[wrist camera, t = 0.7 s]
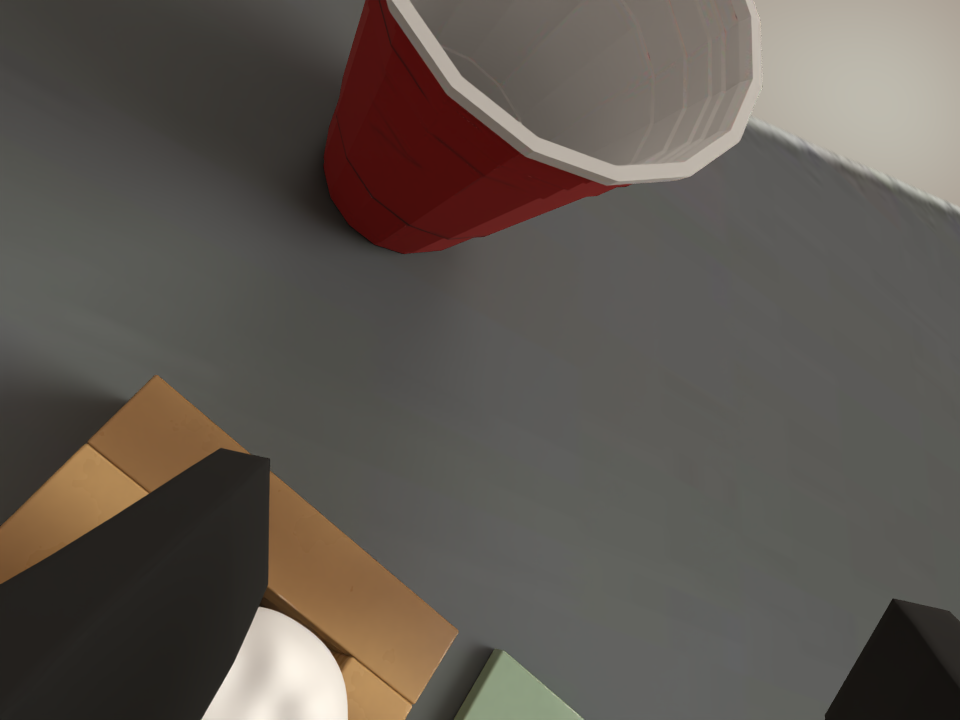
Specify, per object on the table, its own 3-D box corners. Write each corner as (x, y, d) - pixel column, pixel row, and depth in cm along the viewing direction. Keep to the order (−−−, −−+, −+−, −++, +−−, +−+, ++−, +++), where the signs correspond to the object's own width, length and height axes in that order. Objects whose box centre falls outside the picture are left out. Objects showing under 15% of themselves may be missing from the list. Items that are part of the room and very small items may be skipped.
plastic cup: (308, -17, 28) (466, -345, 18) (547, 138, 32) (785, -58, 22) (185, 229, 24) (300, -17, 14) (478, 371, 28) (733, 263, 18)
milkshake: (117, 545, 21) (179, 533, 13) (279, 644, 22) (431, 693, 14) (-7, 708, 19) (-32, 825, 10) (181, 805, 20) (290, 977, 12)
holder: (163, 982, 19) (192, 1071, 16) (-214, 747, 17) (-273, 793, 14) (400, 622, 24) (460, 631, 21) (136, 402, 22) (156, 373, 19)
